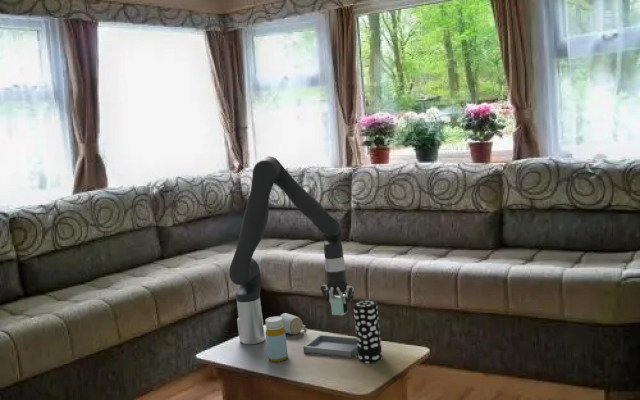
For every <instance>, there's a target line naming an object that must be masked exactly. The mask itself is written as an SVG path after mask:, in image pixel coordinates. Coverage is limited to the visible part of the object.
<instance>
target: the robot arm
mask: <svg viewBox="0 0 640 400" xmlns="http://www.w3.org/2000/svg"><path fill="white" fill-rule="evenodd" d="M274 184H275V185H276V186H278V187H279V188H280V189H281V191H283V192H284V193H285V195H286V196H287V198H288V199H289V200H290V201H291V203H292V204H293V206H294V207H295V208H296V209H297V210H298V211H299V212H300V213H302V214H303V215H304V216H305V217H306V218H307V219H309V220H310V221H311V223H313V225H314V226H315V227H316V228H317V229H318V230H319V231H320V232H321V234H323V242H324V243H323V252H324V266H325V268H324V269H325V277H326V284H323V285H321V286H320V290H321V293H322V295H323V299H324V301H325V302H329V308H330V311H331V312H332V310H331V300H330V299H333V297H335V296H340V298H342V300H343V303H344V304H343V308H344V313H346V314H347V313H348V312H349V310H350V307H349V303H351V302H352V301H353V300H354V293H355V287H356V286H354V285H352V286H351V285H348V282H347V272H346V271H347V270H346V262H345V258H344V252H343V251H344V249H343V244H342V230H341V229H342V228H341V221H340V219H339V218H338V216H336V215H333V214H332V215H330V214H329V213H328V212H327V211H326V210H325V209H324V207H323V205H322V204H321V203H319V202H318V200H316V199H315V198H314V197H313V196H312V195H311V194H310V193H308V192H307V190H305V189H304V188H303V187H302V185H300V184H299V183H298V181H296V180H295V179H294V177H292V175H291V174H290V173H289V172H288V171H287V170H286V169H285V167H284V166H283V165H282V163H281V162H280V161H279V159H277V158H276V157H274V156H271V155H270V156H269V155H267V156H264V157H262V158H261V159H260V160H258V161H256V163H255V165H254V167H253V170H252V178H251V187H250V193H249V196H248V200H247V203H246V206H245V210H244V213H243V216H242V220H241V221H242V222H241V227H240V232H239V236H238V240H237V244H236V249H235V251H234V255H233V258H232V260H231V263H230V266H229V270H228V275H229V278H230V279H229V280H230V281H231V282H232V283H233V284H235V285H237V286H239V288H238V289H237V291H236V293H235V299H236V305H237V313H238V315H237V316H238V318H237V320H236V322H237V331H238V339H239V342H240V343H242V344H243V345H257V344H260V343H262V342H264V341H266V340H265V339H266V334H265V329H264V327H265V326H264V319H263V311H262V305H261V295H260V294H261V287H262V286H261V273H260V272H261V271H260V266H259V264H258V262H257V260H255V259H254V258H253V256H254V253H255V251H256V249H257V247H259V244H260V242H261V241H262V239H263V237H264V235H265V232H266V228H267V224H268V220H269V214H270V213H269V212H270V209H269V208H270V207H269V205H270V204H269V202H270V201H269V200H270V196H271V193H272V190H273V189H272V188H273V185H274Z"/></svg>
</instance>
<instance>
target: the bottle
mask: <svg viewBox="0 0 640 400" xmlns="http://www.w3.org/2000/svg"><path fill="white" fill-rule="evenodd" d="M265 328H266V330H265V339H266V340H265V341H266V348H267V354H268V359H269V360H270V361H271V362H273V363H279V362H283V361H285V360H287V358H288V356H289V355H288V354H289V353H288V346H287V338H286V337H287V336H286V333H285V329H284V327H283V320H282V317H280V315H277V316H270V317H268V318H266V319H265Z"/></svg>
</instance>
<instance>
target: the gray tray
mask: <svg viewBox="0 0 640 400" xmlns="http://www.w3.org/2000/svg"><path fill="white" fill-rule="evenodd" d="M302 348H303V353H304V354H308V355H309V354H310V355H318V356H327V357H337V358H346V359H352V358H354V357H355V356H356V355H358V348H357V338H356V337H350V336H349V337H348V336H339V335H338V336H337V335H327V334H318V335H317V336H316V337H315V338H313V339H312V340H310V341H309V342H307V343H306V344H305V345H303V346H302Z"/></svg>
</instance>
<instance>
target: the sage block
mask: <svg viewBox="0 0 640 400" xmlns="http://www.w3.org/2000/svg"><path fill="white" fill-rule="evenodd" d="M330 300H331V308H330V311H331V310H332V311H331V315H332V316H344V315H346V314H347V313H344V308H343V304H344V303H343V300H342V298H340V295H336V296H335V297H333V299H330Z"/></svg>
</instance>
